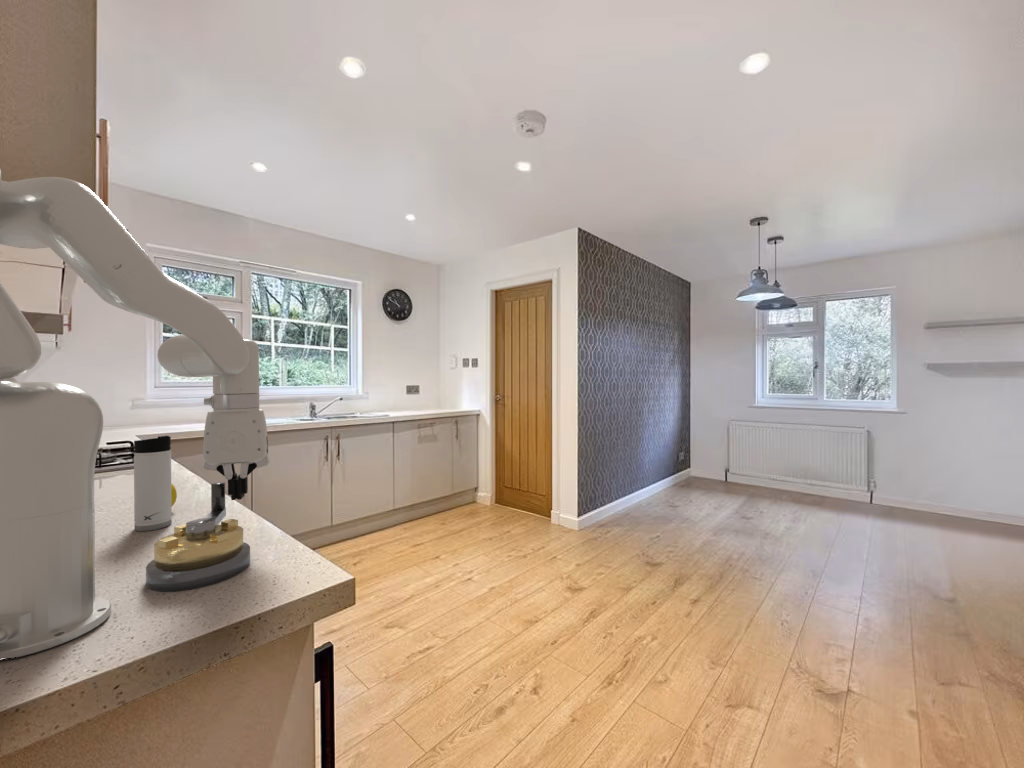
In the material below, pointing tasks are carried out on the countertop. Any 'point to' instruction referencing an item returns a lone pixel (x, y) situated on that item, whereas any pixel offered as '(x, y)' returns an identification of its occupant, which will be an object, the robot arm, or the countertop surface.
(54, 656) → the countertop surface
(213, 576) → the base
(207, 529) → the yellow crank mechanism
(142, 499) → the travel mug
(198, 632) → the countertop surface
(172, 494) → the lemon
